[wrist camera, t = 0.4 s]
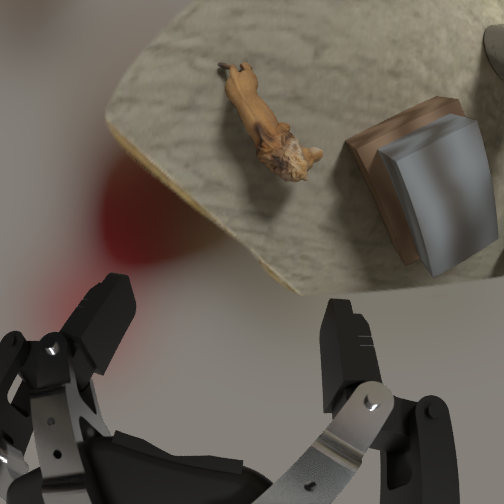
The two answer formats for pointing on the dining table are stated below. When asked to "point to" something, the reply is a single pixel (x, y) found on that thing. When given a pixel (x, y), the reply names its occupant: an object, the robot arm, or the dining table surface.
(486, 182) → the two-tone block
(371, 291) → the dining table surface
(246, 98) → the lion figurine
